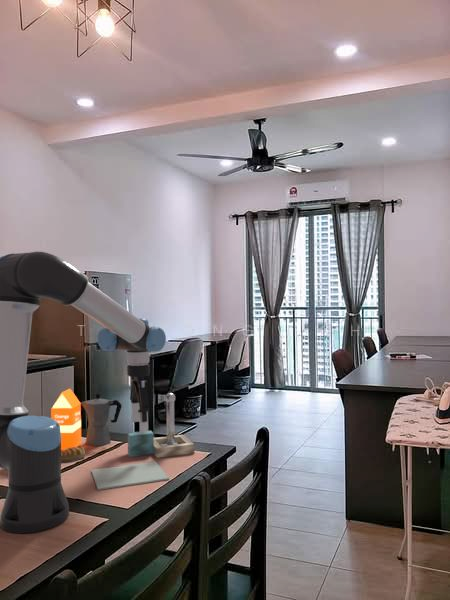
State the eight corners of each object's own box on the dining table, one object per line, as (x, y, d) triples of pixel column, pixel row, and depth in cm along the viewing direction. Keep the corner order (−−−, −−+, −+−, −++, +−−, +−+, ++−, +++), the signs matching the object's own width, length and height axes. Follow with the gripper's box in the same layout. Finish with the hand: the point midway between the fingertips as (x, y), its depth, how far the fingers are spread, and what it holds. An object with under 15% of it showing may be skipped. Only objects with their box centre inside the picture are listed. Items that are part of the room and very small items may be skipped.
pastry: (59, 464, 155) (59, 452, 155) (51, 460, 160) (51, 448, 160) (87, 458, 161) (87, 447, 161) (78, 454, 166) (78, 442, 166)
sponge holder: (132, 460, 157) (132, 439, 158) (125, 449, 170) (125, 429, 170) (194, 453, 165) (194, 432, 165) (183, 442, 177) (183, 423, 177)
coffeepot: (75, 446, 175) (75, 395, 175) (85, 438, 184) (84, 391, 184) (118, 446, 174) (117, 396, 174) (125, 439, 183) (124, 391, 183)
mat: (98, 490, 133) (97, 488, 133) (91, 471, 148) (91, 469, 148) (169, 479, 140) (169, 478, 140) (155, 463, 155) (155, 461, 155)
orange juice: (51, 450, 170) (50, 393, 170) (61, 442, 179) (59, 388, 179) (73, 449, 170) (72, 392, 170) (82, 442, 179) (80, 388, 179)
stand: (164, 453, 165) (163, 395, 165) (160, 448, 171) (159, 392, 171) (181, 451, 167) (180, 393, 167) (176, 446, 173) (176, 390, 173)
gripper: (158, 367, 155) (159, 434, 155) (141, 359, 178) (142, 416, 178) (134, 369, 152) (135, 437, 152) (121, 360, 175) (122, 419, 175)
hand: (139, 426), depth 165 cm, fingers open, 13 cm apart
